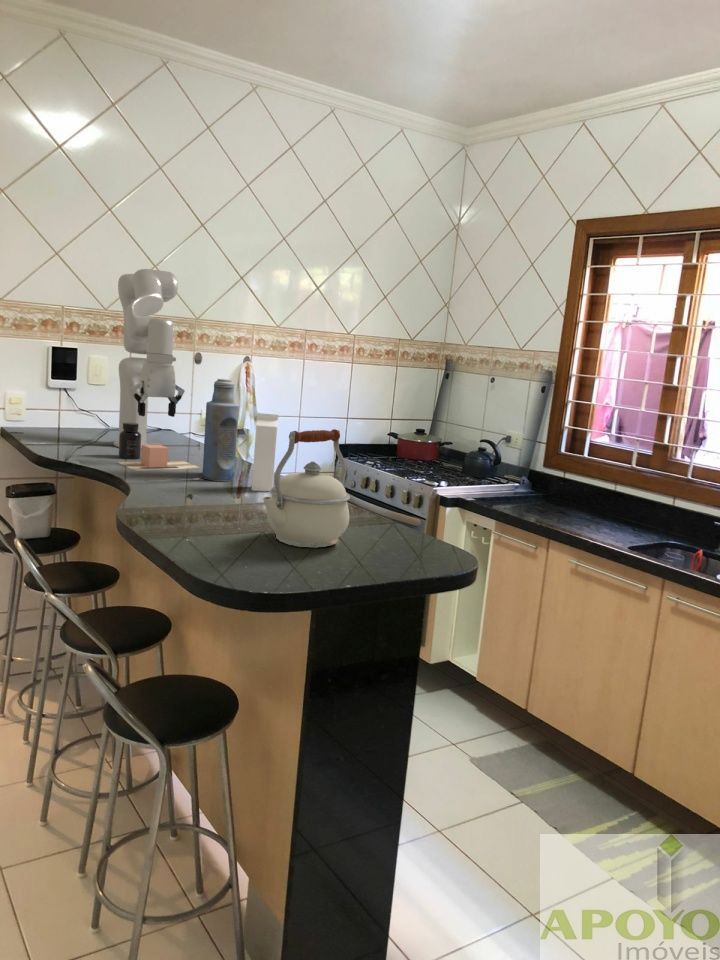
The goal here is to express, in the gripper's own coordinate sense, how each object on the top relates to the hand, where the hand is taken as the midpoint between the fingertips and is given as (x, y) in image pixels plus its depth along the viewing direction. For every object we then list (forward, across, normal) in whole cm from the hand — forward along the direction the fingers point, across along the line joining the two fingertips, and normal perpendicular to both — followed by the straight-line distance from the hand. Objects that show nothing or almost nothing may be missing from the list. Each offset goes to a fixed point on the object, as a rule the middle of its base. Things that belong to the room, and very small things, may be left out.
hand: (156, 415), depth 236 cm
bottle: (+17, -12, +18) cm, 28 cm away
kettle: (+18, +5, +86) cm, 88 cm away
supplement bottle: (+16, +2, -15) cm, 22 cm away
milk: (+17, -17, +35) cm, 43 cm away
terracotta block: (+16, 0, -1) cm, 16 cm away
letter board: (+16, -2, -1) cm, 16 cm away
